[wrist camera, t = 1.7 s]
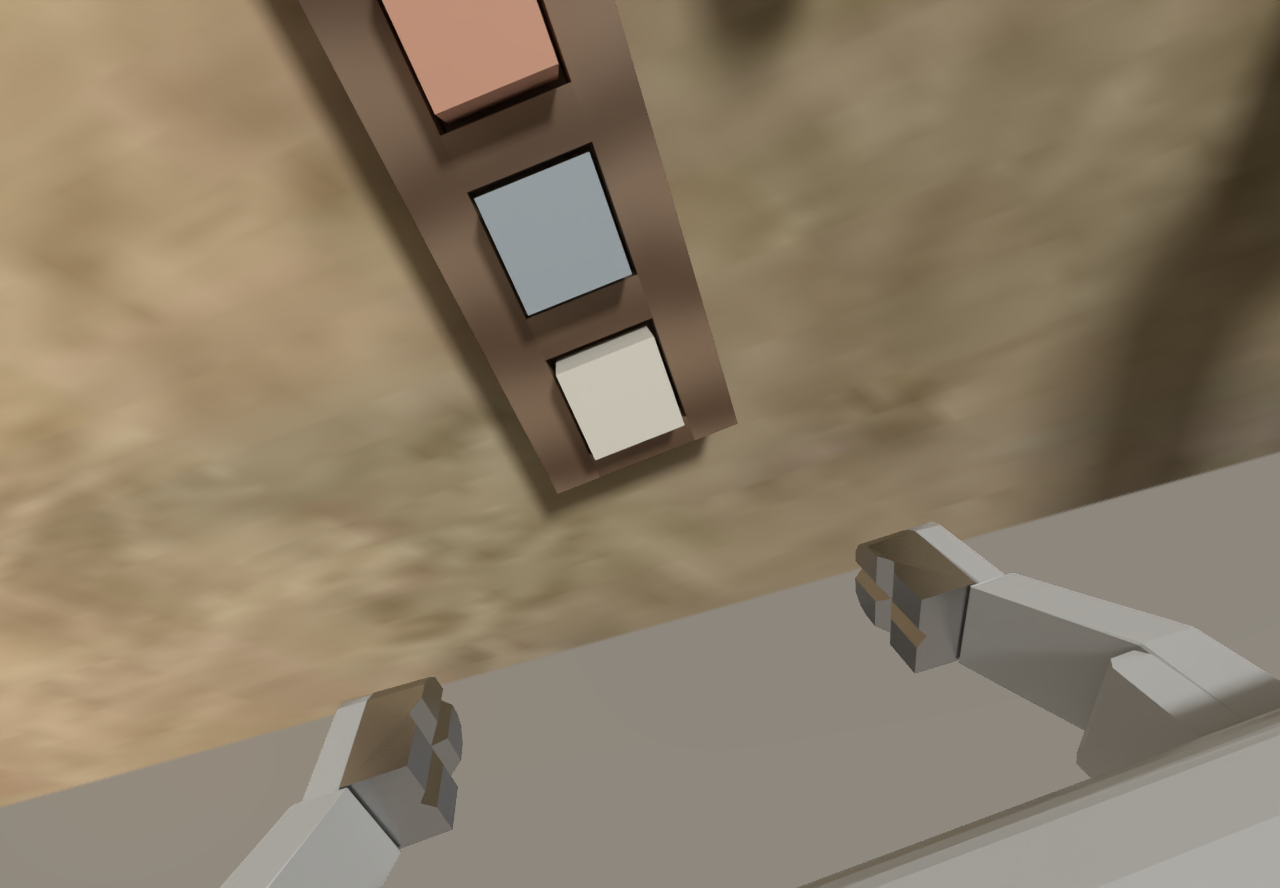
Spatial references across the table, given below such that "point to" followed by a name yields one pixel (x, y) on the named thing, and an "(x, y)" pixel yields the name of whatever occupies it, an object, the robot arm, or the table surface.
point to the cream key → (619, 392)
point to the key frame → (512, 150)
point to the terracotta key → (474, 51)
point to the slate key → (555, 233)
